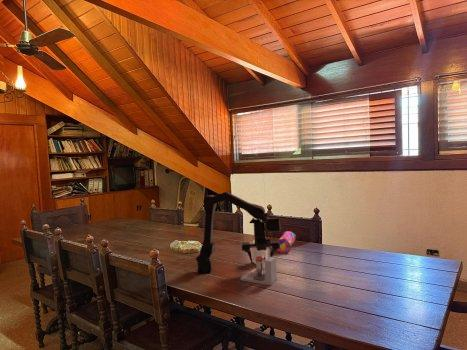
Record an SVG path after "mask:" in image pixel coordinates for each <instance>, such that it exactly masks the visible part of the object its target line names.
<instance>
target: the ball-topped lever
mask: <svg viewBox="0 0 467 350" xmlns="http://www.w3.org/2000/svg"><path fill="white" fill-rule="evenodd" d="M256 260H257V274H255V275H254V279H258V280H264V279H266V278H265V274H263V257H262V256H258V257H256Z"/></svg>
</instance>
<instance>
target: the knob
mask: <svg viewBox="0 0 467 350" xmlns="http://www.w3.org/2000/svg"><path fill="white" fill-rule="evenodd" d="M259 256H262V257H263V272H265V260H266V259H265V256H263V255H259ZM256 257H258V256H256ZM254 269H255V271H256V272H257V260H256V264H255V268H254Z"/></svg>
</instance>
